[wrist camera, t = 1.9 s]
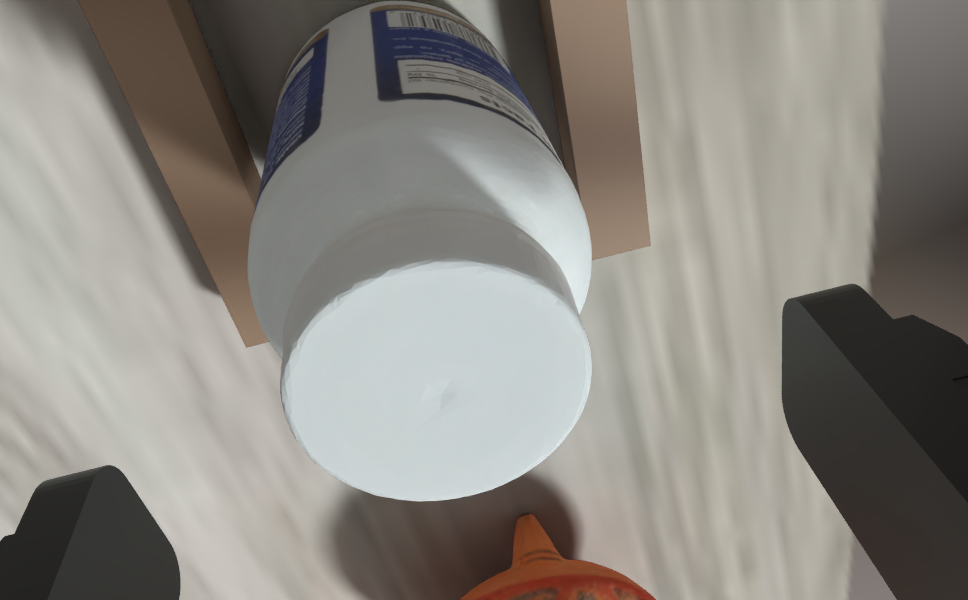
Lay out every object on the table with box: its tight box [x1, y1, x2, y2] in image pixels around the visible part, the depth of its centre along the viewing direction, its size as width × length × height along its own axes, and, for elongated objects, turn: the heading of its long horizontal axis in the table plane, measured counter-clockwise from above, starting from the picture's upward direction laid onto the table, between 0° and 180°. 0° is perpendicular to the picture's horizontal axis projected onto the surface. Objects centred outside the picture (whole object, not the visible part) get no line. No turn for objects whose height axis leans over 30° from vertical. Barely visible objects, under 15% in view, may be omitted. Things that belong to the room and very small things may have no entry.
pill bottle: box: [248, 1, 592, 502], centre depth 14 cm, size 5×5×10 cm
